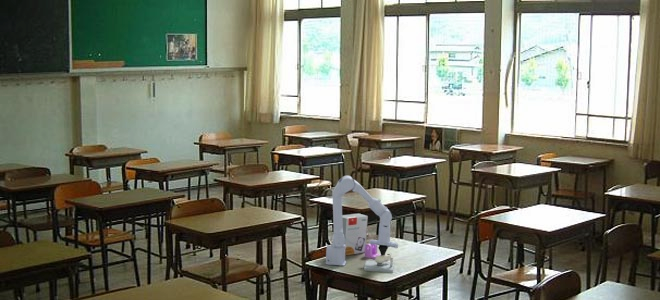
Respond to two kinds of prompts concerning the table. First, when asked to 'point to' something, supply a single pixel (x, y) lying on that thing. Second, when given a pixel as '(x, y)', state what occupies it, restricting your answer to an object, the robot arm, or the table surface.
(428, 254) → the table surface
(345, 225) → the hard drive box
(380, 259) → the cream knobbed bar
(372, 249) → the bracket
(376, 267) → the board
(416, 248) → the table surface
